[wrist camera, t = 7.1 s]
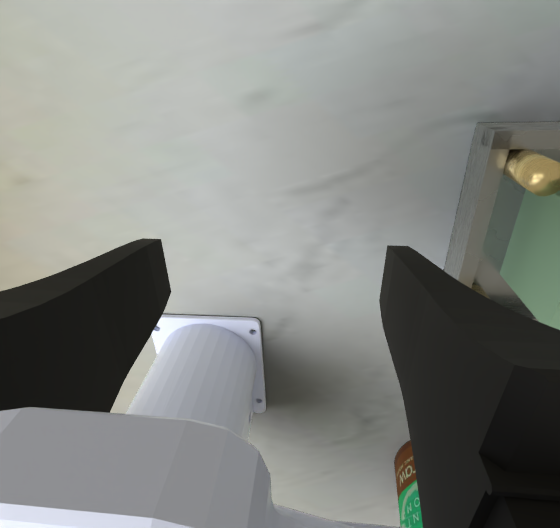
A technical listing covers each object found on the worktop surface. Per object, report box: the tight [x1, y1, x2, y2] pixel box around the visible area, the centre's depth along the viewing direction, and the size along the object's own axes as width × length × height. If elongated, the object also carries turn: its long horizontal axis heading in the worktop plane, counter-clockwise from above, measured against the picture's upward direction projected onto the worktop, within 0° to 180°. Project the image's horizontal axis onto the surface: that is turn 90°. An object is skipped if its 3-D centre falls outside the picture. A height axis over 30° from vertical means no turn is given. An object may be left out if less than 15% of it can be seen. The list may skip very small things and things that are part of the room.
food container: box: [394, 440, 423, 528], centre depth 27 cm, size 12×6×10 cm, turn 160°
